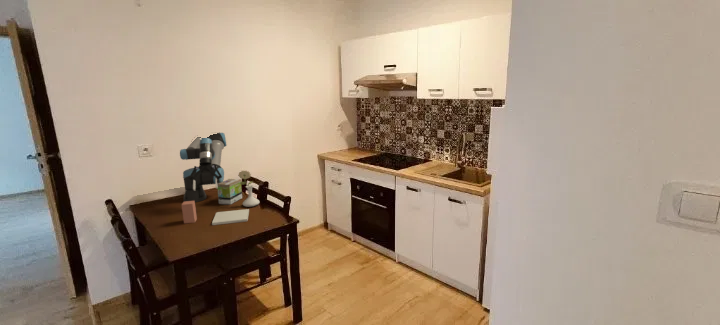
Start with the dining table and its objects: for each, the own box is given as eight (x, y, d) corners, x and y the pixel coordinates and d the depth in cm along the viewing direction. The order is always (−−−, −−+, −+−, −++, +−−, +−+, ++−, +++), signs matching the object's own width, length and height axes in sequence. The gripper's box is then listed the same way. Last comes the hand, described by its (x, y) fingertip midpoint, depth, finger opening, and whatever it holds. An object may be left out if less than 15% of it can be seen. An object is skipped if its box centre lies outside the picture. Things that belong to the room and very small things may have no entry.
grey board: (216, 214, 214) (216, 212, 214) (249, 211, 219) (249, 209, 219) (212, 225, 197) (211, 222, 197) (247, 221, 202) (247, 219, 202)
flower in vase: (262, 202, 235) (259, 168, 230) (255, 208, 224) (252, 172, 219) (244, 202, 237) (241, 168, 231) (237, 207, 225) (233, 172, 220)
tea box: (231, 204, 232) (229, 184, 229) (218, 204, 234) (216, 184, 231) (242, 198, 246) (241, 178, 243) (230, 197, 248) (228, 178, 245)
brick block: (186, 219, 206) (183, 201, 203) (196, 218, 208) (194, 200, 205) (184, 223, 200) (181, 204, 198) (194, 222, 202) (192, 203, 199)
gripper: (184, 158, 219) (183, 188, 211) (224, 155, 225) (224, 185, 217) (187, 163, 226) (186, 192, 218) (226, 160, 232) (226, 188, 224)
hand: (205, 188), depth 218 cm, fingers open, 13 cm apart
